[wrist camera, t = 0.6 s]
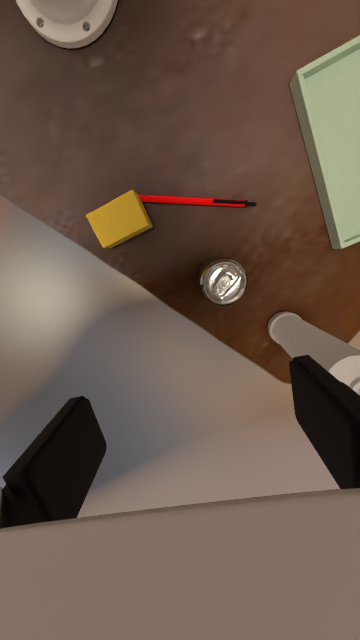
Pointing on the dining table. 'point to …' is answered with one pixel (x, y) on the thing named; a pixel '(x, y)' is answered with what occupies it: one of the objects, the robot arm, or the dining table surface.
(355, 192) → the tray
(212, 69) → the dining table surface
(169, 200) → the pen
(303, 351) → the bottle
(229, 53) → the dining table surface
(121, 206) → the sponge
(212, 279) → the soda can
